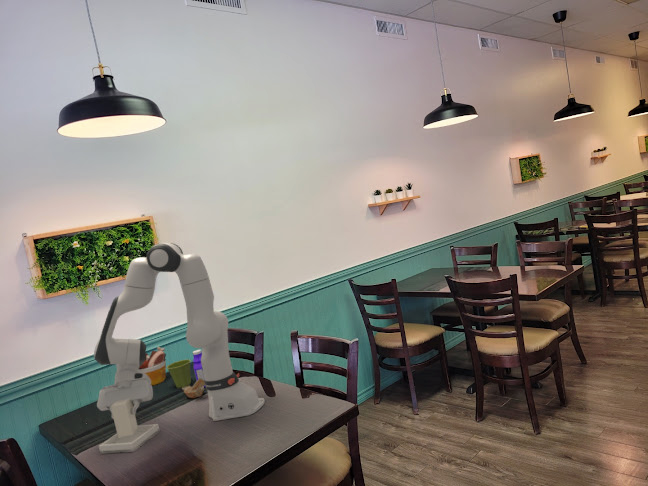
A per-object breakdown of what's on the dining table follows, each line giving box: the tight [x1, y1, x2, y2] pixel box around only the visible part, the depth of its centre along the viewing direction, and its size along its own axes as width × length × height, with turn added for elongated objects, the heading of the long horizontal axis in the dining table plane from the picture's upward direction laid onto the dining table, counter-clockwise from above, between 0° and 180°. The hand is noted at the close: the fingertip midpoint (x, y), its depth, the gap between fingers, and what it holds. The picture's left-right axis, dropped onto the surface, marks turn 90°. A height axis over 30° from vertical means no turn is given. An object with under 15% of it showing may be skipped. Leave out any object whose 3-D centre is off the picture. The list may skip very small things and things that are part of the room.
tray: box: [98, 423, 161, 455], centre depth 182 cm, size 15×15×3 cm
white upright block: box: [111, 399, 139, 438], centre depth 182 cm, size 6×6×12 cm
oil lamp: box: [181, 378, 205, 399], centre depth 221 cm, size 9×21×10 cm, turn 39°
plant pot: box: [166, 359, 192, 389], centre depth 242 cm, size 12×12×11 cm
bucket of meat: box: [139, 346, 167, 387], centre depth 258 cm, size 20×16×20 cm
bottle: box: [192, 349, 206, 388], centre depth 233 cm, size 7×6×17 cm
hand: (123, 415), depth 181 cm, fingers closed on white upright block, 5 cm apart
